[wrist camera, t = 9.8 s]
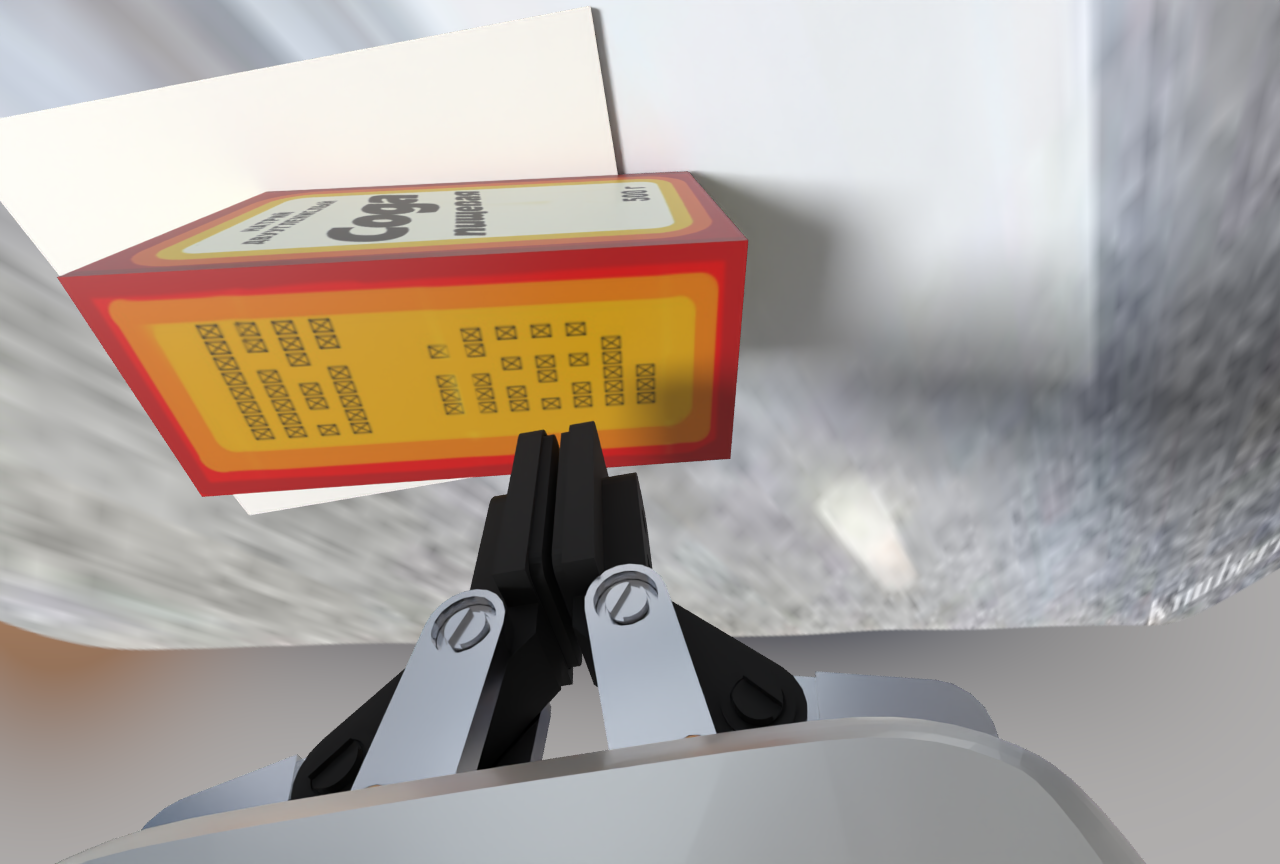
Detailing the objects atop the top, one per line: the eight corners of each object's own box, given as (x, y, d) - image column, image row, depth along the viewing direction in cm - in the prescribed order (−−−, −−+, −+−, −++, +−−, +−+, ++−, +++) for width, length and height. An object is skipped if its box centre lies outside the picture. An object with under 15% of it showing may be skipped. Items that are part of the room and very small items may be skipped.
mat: (590, 6, 18) (590, 5, 17) (660, 440, 28) (661, 445, 28) (-45, 127, 18) (-57, 129, 18) (253, 509, 29) (249, 515, 28)
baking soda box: (685, 330, 24) (321, 352, 23) (688, 171, 20) (256, 191, 20) (730, 458, 16) (188, 497, 16) (748, 240, 13) (39, 278, 12)
